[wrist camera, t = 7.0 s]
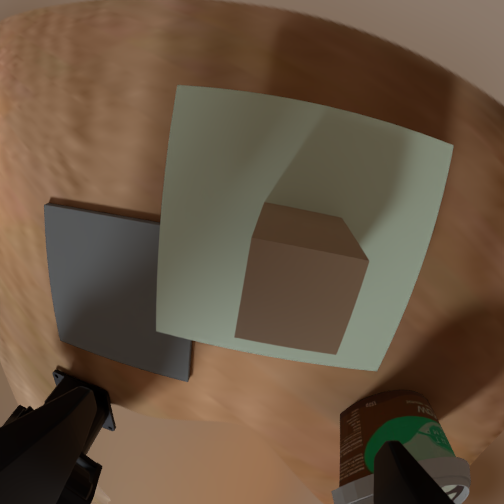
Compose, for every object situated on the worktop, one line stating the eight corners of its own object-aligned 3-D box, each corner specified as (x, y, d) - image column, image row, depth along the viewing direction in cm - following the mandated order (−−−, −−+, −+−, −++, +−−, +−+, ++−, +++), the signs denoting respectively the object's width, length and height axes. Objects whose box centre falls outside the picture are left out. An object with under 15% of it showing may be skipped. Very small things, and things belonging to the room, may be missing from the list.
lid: (373, 361, 15) (395, 438, 10) (161, 322, 15) (118, 392, 10) (444, 144, 11) (521, 155, 6) (183, 87, 11) (122, 62, 6)
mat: (189, 377, 23) (187, 382, 22) (63, 337, 23) (60, 340, 23) (202, 230, 19) (200, 232, 18) (48, 202, 19) (44, 204, 19)
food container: (465, 399, 22) (501, 480, 12) (420, 438, 24) (442, 519, 14) (374, 359, 21) (407, 474, 11) (325, 409, 23) (332, 516, 13)
